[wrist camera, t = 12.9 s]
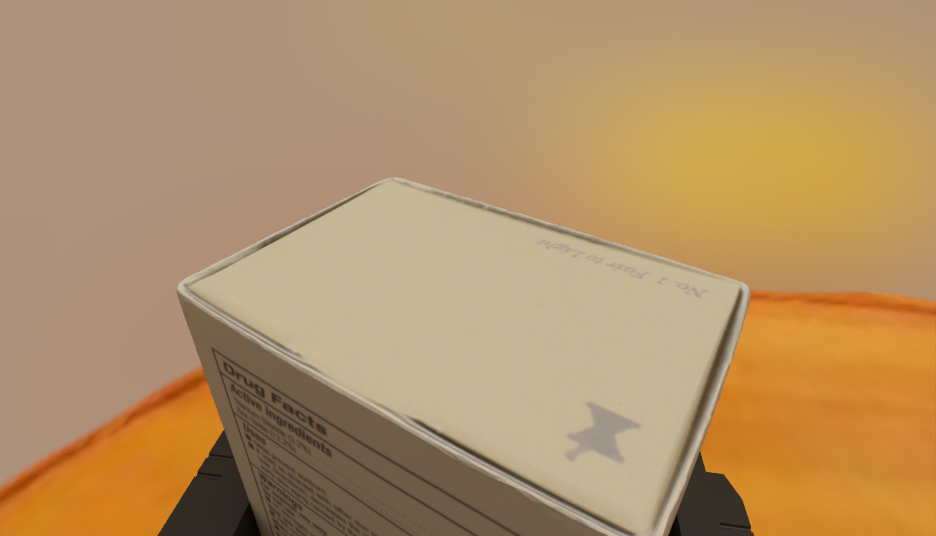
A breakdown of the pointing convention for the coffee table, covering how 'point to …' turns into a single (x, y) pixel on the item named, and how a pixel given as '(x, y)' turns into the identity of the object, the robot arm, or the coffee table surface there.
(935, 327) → the coffee table surface
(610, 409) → the skincare box
